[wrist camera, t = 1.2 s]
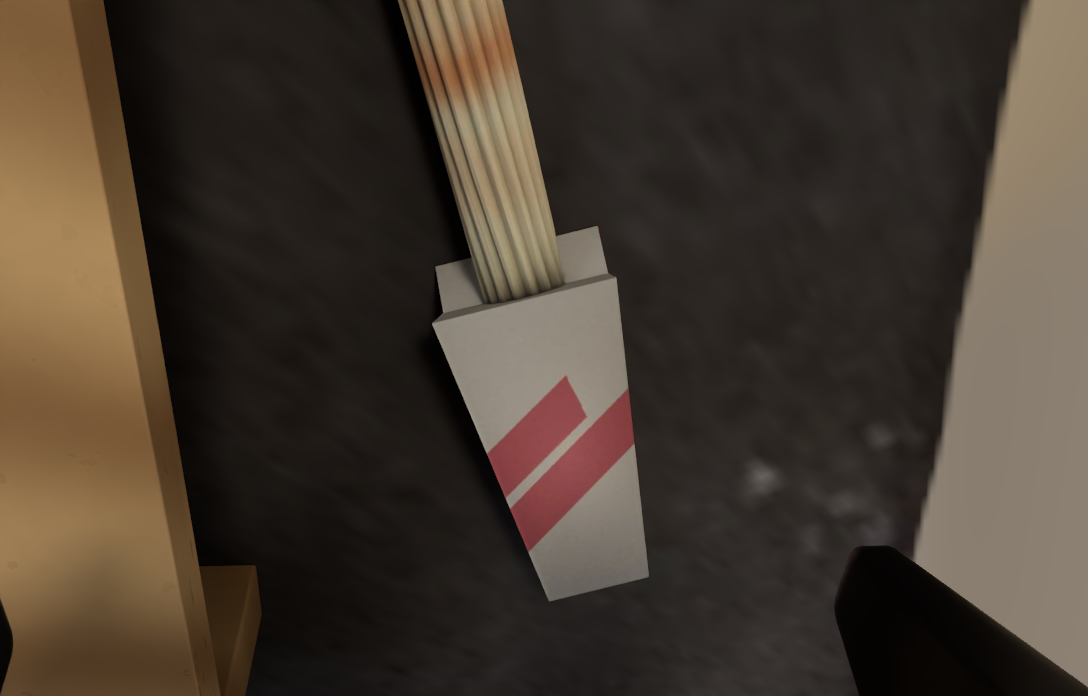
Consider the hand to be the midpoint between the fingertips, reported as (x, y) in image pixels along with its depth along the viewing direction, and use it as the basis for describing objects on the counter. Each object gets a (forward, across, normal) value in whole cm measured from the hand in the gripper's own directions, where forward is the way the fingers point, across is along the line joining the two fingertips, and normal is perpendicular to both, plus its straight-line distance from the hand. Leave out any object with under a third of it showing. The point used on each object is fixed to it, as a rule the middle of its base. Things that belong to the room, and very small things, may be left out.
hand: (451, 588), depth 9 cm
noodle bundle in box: (+12, -2, +1) cm, 12 cm away
